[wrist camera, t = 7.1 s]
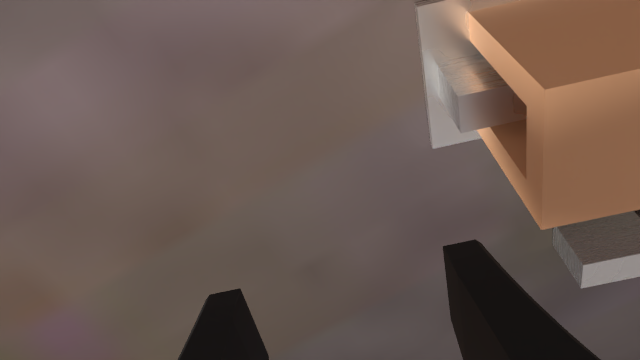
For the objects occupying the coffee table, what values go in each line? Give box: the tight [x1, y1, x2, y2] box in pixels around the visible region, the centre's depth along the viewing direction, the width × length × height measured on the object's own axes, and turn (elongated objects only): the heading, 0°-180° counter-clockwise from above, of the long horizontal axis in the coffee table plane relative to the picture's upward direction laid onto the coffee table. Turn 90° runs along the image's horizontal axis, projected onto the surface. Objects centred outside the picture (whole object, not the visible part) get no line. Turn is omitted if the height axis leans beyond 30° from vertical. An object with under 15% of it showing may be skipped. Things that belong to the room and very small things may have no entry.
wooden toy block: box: [553, 211, 640, 288], centre depth 21 cm, size 1×3×2 cm, turn 102°
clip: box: [468, 0, 640, 230], centre depth 15 cm, size 4×7×6 cm, turn 102°
